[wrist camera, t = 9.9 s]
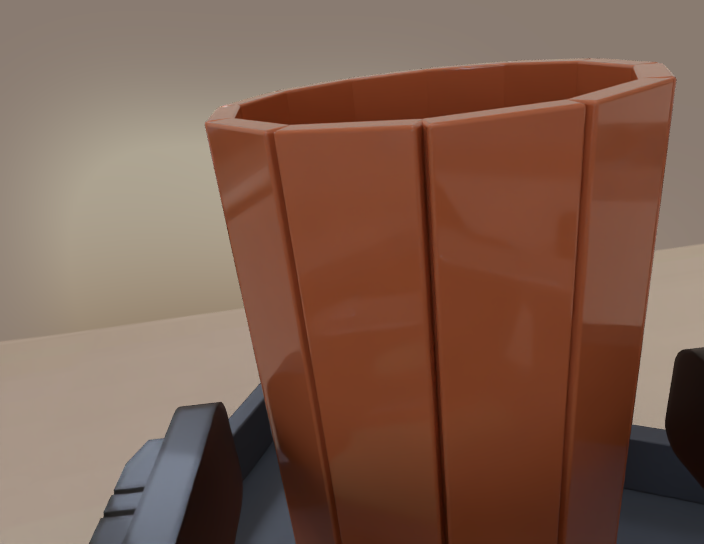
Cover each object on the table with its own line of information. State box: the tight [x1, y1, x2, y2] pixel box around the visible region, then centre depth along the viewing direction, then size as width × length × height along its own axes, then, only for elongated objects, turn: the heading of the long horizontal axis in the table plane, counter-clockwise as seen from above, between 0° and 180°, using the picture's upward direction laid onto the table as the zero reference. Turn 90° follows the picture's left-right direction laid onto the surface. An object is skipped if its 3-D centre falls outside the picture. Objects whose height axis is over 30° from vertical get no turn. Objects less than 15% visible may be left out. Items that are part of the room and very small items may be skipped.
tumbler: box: [205, 58, 676, 544], centre depth 11 cm, size 6×6×13 cm
